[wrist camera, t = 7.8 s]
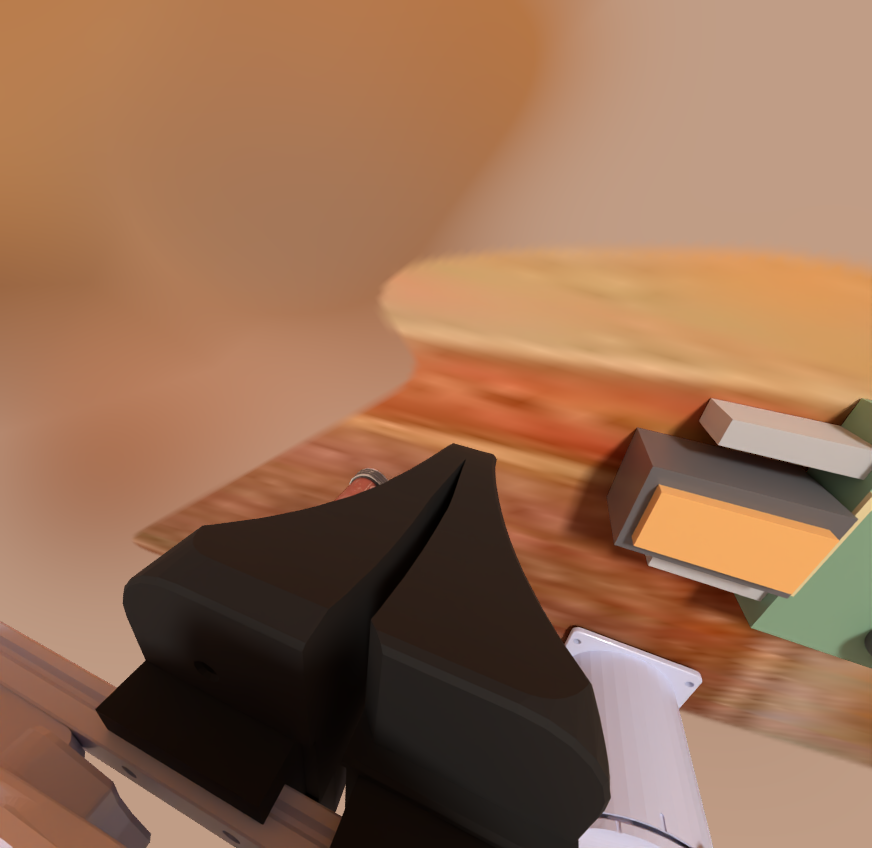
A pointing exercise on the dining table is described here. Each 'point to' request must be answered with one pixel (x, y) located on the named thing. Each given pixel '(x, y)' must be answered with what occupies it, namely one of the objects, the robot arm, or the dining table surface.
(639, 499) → the grey box orange face
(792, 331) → the dining table surface
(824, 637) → the deck
